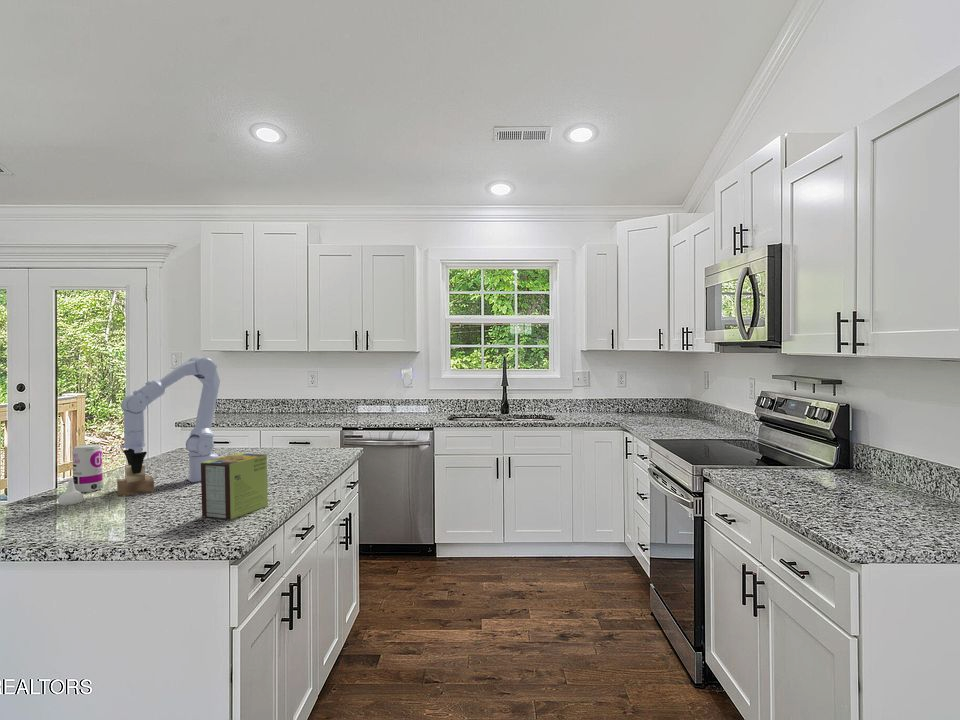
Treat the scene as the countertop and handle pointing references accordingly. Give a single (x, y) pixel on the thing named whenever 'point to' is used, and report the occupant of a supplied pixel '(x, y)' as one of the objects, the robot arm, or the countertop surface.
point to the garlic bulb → (70, 495)
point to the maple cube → (134, 477)
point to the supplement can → (87, 468)
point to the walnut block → (135, 486)
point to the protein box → (234, 485)
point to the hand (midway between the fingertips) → (135, 471)
